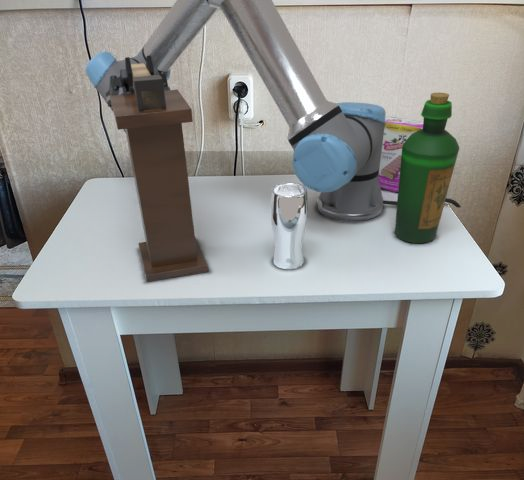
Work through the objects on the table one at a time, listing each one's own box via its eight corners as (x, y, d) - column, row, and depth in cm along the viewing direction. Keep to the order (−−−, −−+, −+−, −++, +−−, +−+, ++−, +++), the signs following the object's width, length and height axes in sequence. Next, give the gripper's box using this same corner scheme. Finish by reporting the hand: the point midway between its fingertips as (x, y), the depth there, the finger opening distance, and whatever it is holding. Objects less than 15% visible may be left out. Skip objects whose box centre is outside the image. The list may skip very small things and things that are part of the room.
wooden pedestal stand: (139, 249, 109) (109, 95, 91) (195, 240, 112) (177, 89, 93) (147, 282, 99) (115, 116, 80) (208, 271, 101) (191, 108, 83)
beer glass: (264, 262, 104) (262, 190, 94) (286, 250, 108) (287, 179, 98) (290, 274, 100) (291, 200, 90) (312, 261, 104) (316, 188, 94)
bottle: (441, 249, 106) (473, 103, 89) (389, 245, 108) (410, 101, 91) (438, 226, 114) (467, 88, 97) (389, 223, 116) (409, 87, 99)
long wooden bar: (127, 82, 98) (122, 56, 96) (150, 80, 99) (146, 54, 97) (138, 111, 82) (134, 80, 79) (166, 108, 83) (162, 78, 80)
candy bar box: (369, 188, 132) (377, 120, 122) (377, 181, 136) (385, 115, 125) (411, 196, 127) (423, 127, 117) (418, 189, 131) (430, 121, 120)
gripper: (179, 122, 115) (189, 83, 92) (105, 130, 111) (96, 91, 89) (172, 86, 113) (181, 38, 91) (97, 93, 110) (87, 45, 87)
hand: (139, 64), depth 90 cm, fingers closed on long wooden bar, 3 cm apart
